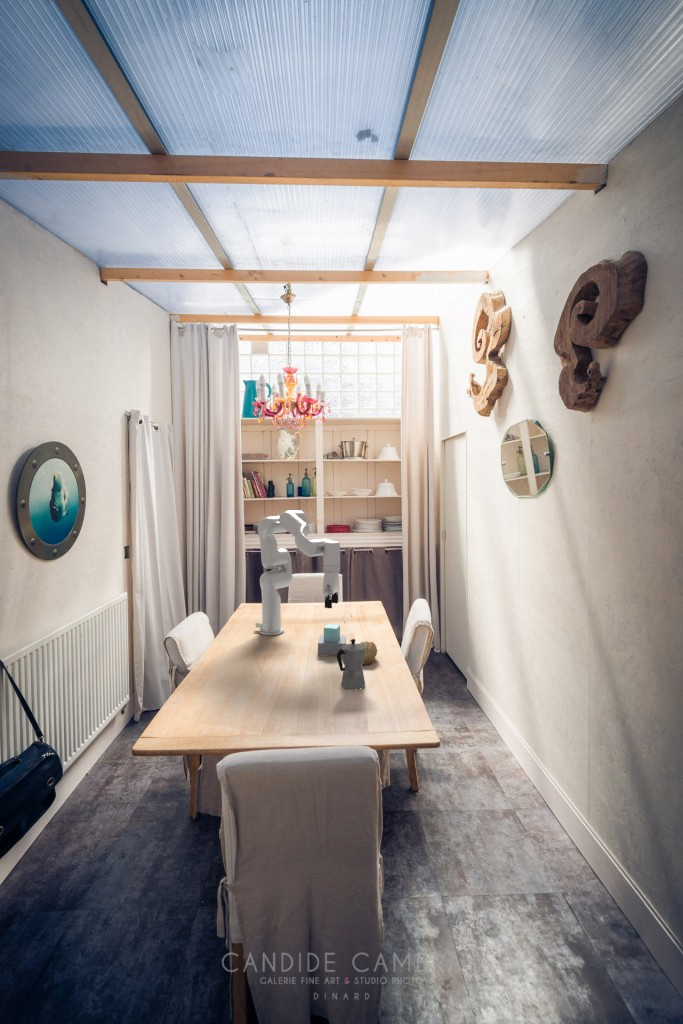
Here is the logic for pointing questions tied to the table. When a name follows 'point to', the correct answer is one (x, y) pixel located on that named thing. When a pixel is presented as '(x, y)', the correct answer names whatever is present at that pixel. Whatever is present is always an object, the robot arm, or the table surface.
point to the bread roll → (369, 652)
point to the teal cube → (332, 633)
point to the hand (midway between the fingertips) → (331, 605)
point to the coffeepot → (352, 665)
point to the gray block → (330, 646)
